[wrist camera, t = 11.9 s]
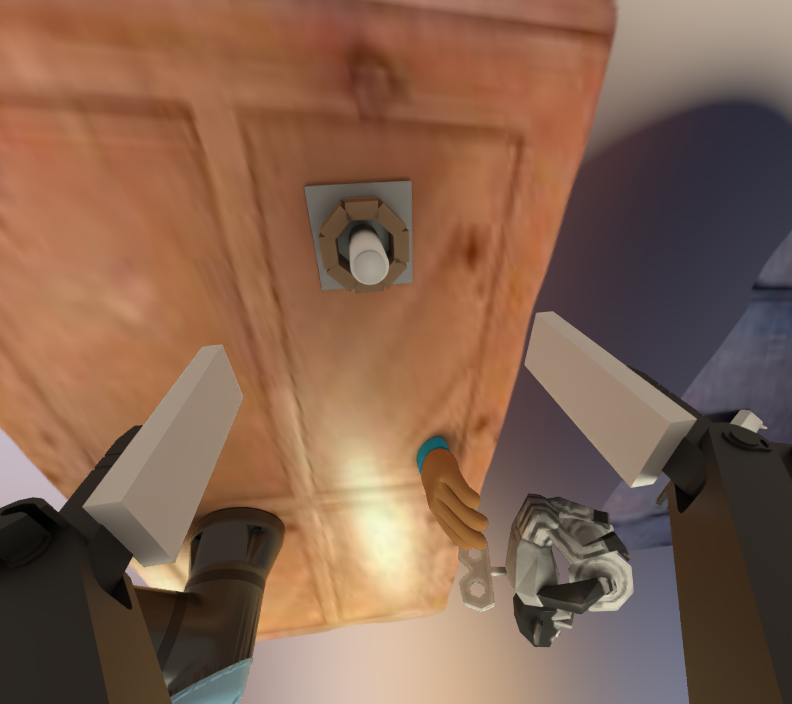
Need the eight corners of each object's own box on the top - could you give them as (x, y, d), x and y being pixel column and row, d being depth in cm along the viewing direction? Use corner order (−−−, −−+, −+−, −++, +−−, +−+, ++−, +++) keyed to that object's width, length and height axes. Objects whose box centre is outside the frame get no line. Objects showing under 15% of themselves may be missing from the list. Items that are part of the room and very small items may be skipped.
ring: (329, 281, 33) (328, 295, 30) (316, 199, 29) (313, 204, 26) (403, 275, 34) (409, 288, 31) (401, 194, 30) (408, 198, 26)
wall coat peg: (322, 287, 34) (315, 332, 26) (305, 185, 29) (287, 199, 20) (410, 279, 35) (432, 321, 27) (409, 180, 30) (437, 190, 21)
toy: (620, 493, 67) (580, 606, 72) (477, 454, 73) (449, 562, 78) (690, 574, 47) (627, 725, 52) (483, 511, 52) (445, 652, 57)
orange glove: (443, 480, 57) (471, 571, 44) (407, 479, 55) (426, 574, 43) (465, 434, 51) (505, 524, 38) (426, 431, 49) (454, 525, 37)
